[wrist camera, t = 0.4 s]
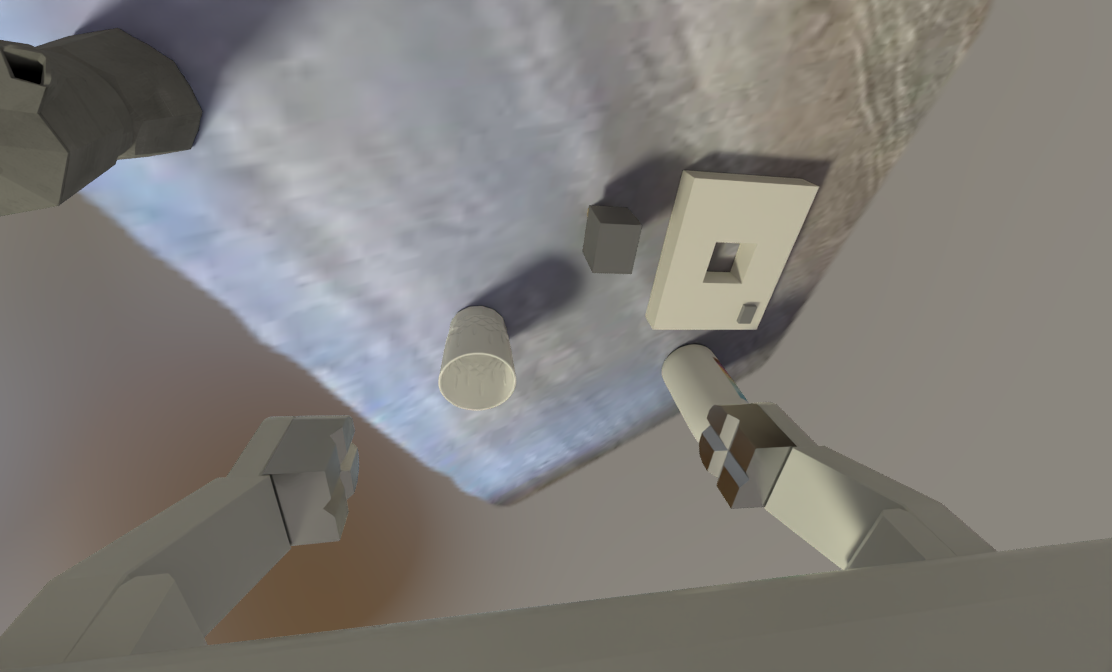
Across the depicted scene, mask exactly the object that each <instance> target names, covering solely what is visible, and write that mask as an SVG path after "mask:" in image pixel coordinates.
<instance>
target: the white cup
mask: <svg viewBox="0 0 1112 672" xmlns="http://www.w3.org/2000/svg"><path fill="white" fill-rule="evenodd" d="M515 386H516V374H515V369H514V363H513V357H512V351H511V346H510V342H509V337H508V334H507V329H506V325H505V323H504V320H503V317H501V316H500V315H499V314H498V313H497V312H496V311H495V310H493V309H490V308H487V307H484V306H472V307H467V308H465V309H463V310H461V311H459V312H458V313H457V314H456V315H455V317H454V318H453V319H452V321H451V323H450V329H449V334H448V336H447V340H446V344H445V349H444V353H443V358H442V364H441V369H440V375H439V388H440V391H441V393H442V395H443V396H444V397H445V398H446V399H447V400H448V401H449V402H450V403H452V404H453V405H455V406H457V407H460V408H463V409H467V410H486V409H490V408H493V407H496V406H498V405H500V404H502V403H503V402H505V401H506V400H507V399H508V398H509V397H510V396H511V395H512V393H513V391H514V389H515Z"/></svg>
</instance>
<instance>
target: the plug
mask: <svg viewBox="0 0 1112 672" xmlns="http://www.w3.org/2000/svg"><path fill="white" fill-rule="evenodd" d="M587 216H588V217H587V224H586V231H585V238H584V245H583V254H584V256H585V258H586V260H587V262H588V264H589V267H590V269H591V271H592V273H614V274H632V270H633V265H634V261H635V256H636V252H637V247H638V243H639V238H640V233H641V229H642V224H641V223H640V222H639V221H638V220H637V218H636V217H635V216H634V215H633V214H632V212H631V211H630V210H629V209H628V208H627V207H610V206H592V205H589V208H588V213H587Z"/></svg>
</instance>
